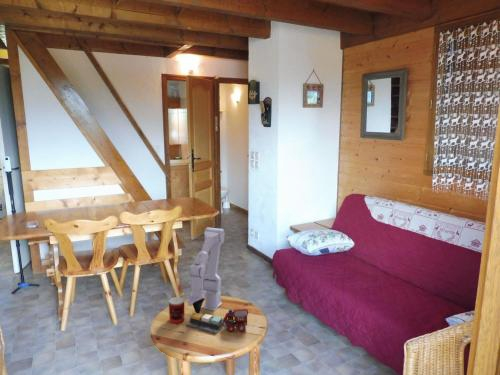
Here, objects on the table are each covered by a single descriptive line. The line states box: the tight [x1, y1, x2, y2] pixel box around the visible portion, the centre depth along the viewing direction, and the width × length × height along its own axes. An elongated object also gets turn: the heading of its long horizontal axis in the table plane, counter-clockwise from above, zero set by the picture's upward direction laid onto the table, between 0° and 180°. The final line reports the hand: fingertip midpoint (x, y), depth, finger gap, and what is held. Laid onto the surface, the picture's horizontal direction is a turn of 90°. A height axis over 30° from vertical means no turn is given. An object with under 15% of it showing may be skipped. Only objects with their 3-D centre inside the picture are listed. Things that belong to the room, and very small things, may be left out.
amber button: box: [191, 313, 204, 320], centre depth 194 cm, size 4×4×2 cm
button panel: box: [185, 312, 224, 335], centre depth 192 cm, size 12×17×3 cm
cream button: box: [202, 313, 213, 323], centre depth 192 cm, size 4×4×2 cm
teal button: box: [211, 315, 223, 325], centre depth 190 cm, size 4×4×2 cm
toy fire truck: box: [222, 308, 249, 333], centre depth 188 cm, size 7×12×10 cm, turn 95°
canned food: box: [168, 296, 186, 325], centre depth 195 cm, size 8×8×11 cm
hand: (197, 312), depth 194 cm, fingers closed
